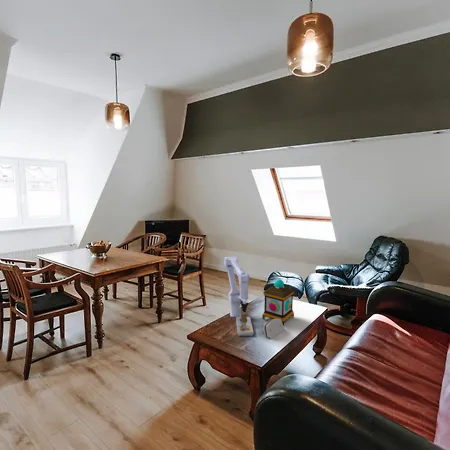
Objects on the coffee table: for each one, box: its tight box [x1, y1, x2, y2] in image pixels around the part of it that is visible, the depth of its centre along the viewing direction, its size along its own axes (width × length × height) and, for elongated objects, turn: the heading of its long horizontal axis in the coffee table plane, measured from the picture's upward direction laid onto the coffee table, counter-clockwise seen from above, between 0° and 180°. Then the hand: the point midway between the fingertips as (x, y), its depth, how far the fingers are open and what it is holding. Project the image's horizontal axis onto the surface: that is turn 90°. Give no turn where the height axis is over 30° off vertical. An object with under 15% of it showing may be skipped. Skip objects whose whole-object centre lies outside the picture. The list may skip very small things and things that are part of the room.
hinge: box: [262, 319, 287, 340], centre depth 197 cm, size 17×5×10 cm, turn 132°
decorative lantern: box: [261, 278, 295, 326], centre depth 216 cm, size 20×20×30 cm
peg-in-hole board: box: [235, 316, 254, 337], centre depth 205 cm, size 22×10×3 cm, turn 1°
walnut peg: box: [240, 311, 247, 322], centre depth 210 cm, size 4×4×8 cm
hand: (243, 309), depth 209 cm, fingers open, 7 cm apart
